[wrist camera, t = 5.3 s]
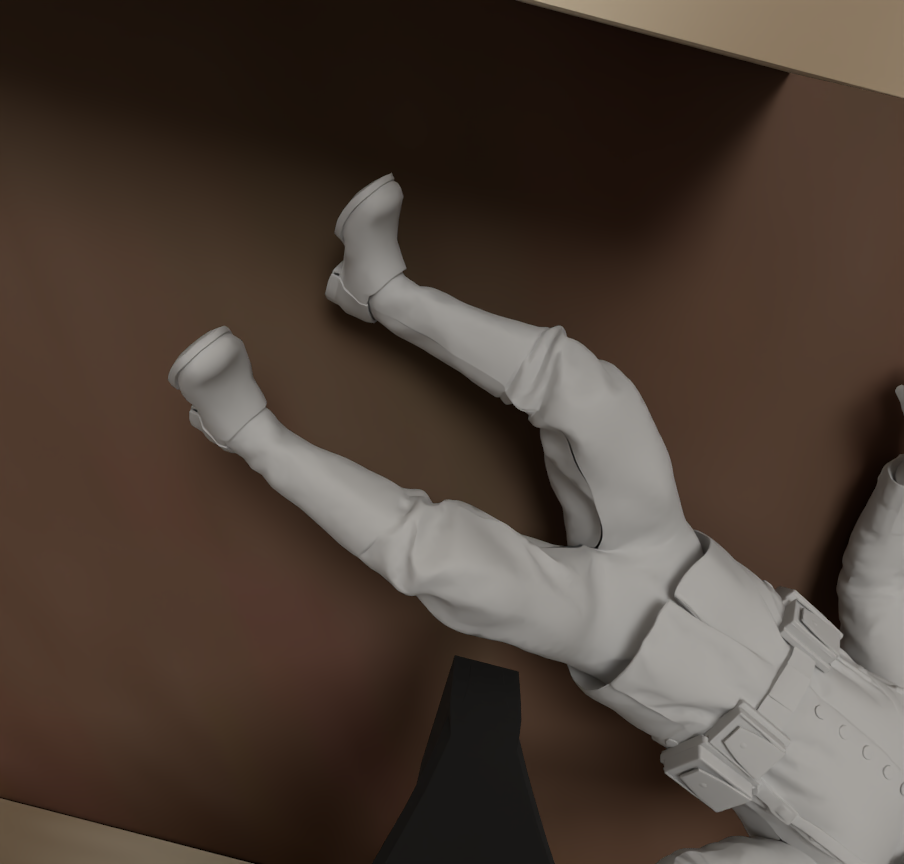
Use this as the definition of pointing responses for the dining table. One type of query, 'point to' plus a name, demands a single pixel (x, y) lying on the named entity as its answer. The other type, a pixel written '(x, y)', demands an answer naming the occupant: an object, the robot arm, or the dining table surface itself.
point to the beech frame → (636, 9)
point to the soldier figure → (613, 570)
